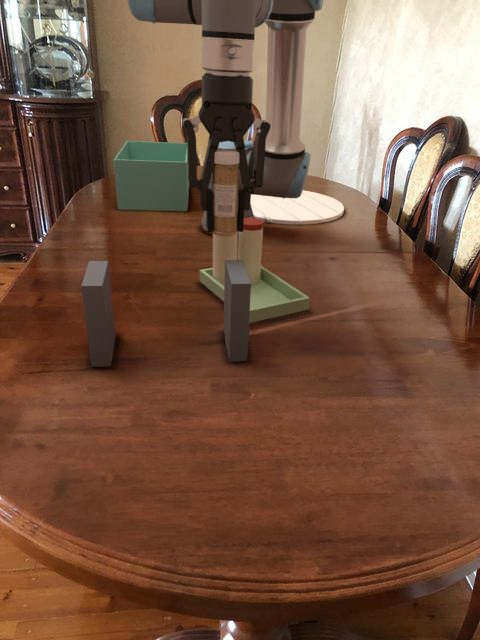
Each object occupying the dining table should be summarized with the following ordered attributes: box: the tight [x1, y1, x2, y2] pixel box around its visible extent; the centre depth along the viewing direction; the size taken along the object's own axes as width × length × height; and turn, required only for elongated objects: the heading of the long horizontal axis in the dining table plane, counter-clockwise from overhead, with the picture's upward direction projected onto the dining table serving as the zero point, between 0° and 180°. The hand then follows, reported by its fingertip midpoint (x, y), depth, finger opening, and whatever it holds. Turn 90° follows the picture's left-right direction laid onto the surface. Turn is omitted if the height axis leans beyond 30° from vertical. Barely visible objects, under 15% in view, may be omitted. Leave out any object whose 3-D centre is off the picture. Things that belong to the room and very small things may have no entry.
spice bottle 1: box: [212, 233, 239, 286], centre depth 109 cm, size 5×5×13 cm
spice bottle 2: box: [237, 218, 264, 285], centre depth 111 cm, size 5×5×13 cm
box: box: [113, 140, 190, 212], centre depth 169 cm, size 21×32×14 cm, turn 6°
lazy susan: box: [251, 189, 345, 226], centre depth 171 cm, size 40×39×3 cm
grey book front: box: [80, 260, 117, 368], centre depth 84 cm, size 3×10×14 cm, turn 9°
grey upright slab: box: [223, 259, 251, 363], centre depth 88 cm, size 3×10×14 cm, turn 9°
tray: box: [199, 265, 311, 324], centre depth 108 cm, size 22×14×3 cm, turn 31°
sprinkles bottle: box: [212, 148, 240, 236], centre depth 85 cm, size 5×5×14 cm
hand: (224, 228), depth 89 cm, fingers closed on sprinkles bottle, 4 cm apart
